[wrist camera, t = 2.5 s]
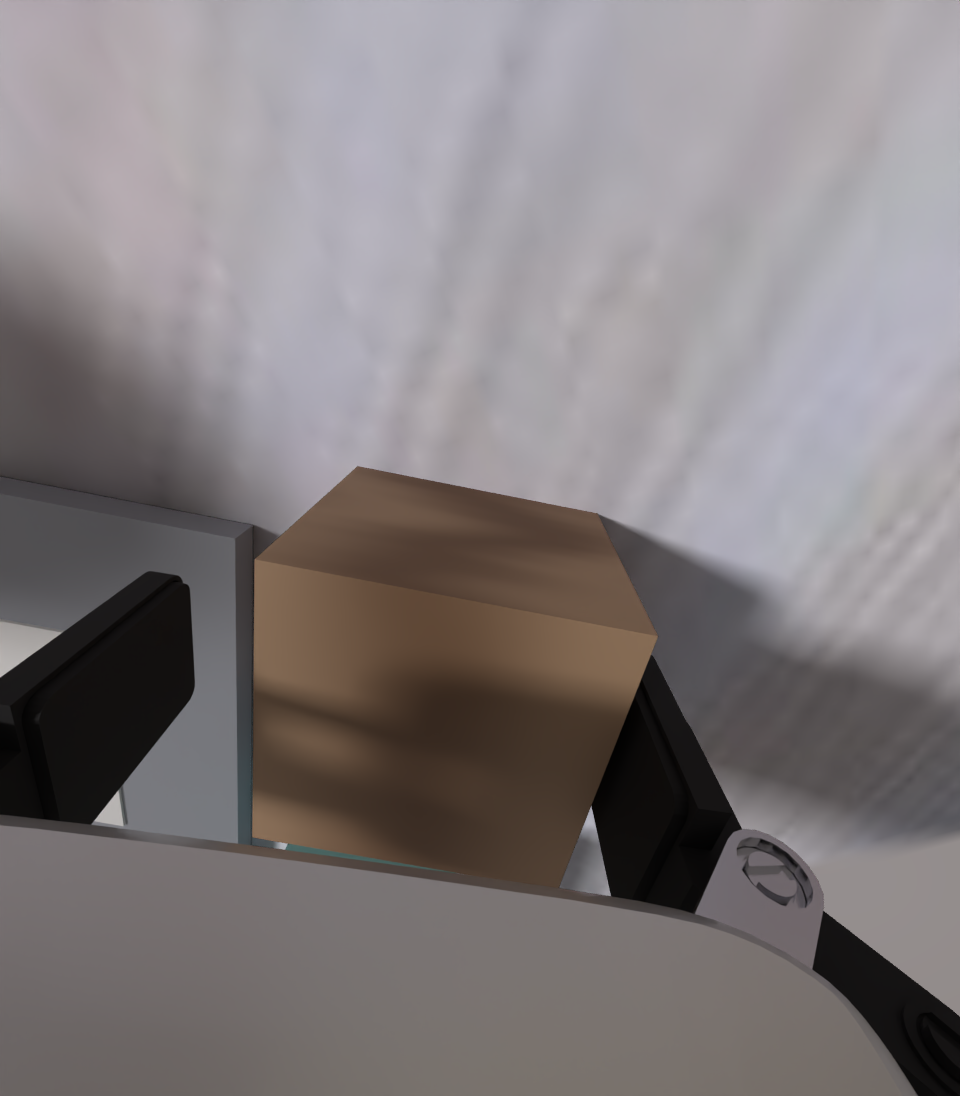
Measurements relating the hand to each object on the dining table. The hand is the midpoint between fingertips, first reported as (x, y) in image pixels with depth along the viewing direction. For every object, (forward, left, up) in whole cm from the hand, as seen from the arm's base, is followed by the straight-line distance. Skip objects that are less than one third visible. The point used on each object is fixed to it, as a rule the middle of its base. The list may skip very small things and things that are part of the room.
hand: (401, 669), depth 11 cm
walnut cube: (-1, 0, -4) cm, 4 cm away
